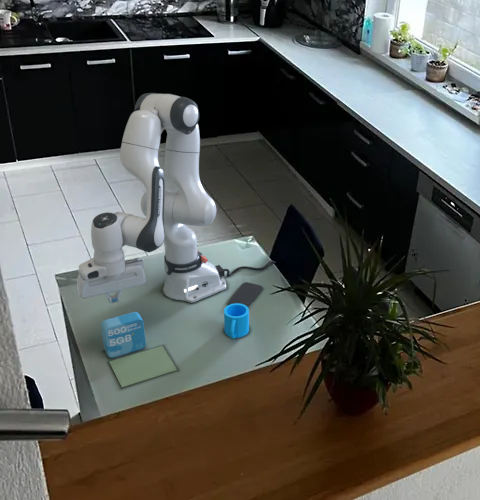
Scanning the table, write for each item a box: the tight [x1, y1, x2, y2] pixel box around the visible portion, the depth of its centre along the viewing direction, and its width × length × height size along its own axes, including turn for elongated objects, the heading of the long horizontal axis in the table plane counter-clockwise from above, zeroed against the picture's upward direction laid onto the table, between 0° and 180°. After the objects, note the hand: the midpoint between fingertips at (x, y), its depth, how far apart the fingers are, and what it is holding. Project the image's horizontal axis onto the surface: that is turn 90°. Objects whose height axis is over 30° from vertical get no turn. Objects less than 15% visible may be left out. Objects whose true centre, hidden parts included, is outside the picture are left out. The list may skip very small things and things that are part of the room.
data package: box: [100, 311, 147, 359], centre depth 218 cm, size 12×4×12 cm, turn 123°
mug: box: [223, 303, 250, 340], centre depth 230 cm, size 12×8×8 cm
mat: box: [108, 345, 178, 389], centre depth 215 cm, size 17×13×1 cm
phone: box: [227, 281, 263, 308], centre depth 250 cm, size 7×1×15 cm
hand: (114, 301), depth 219 cm, fingers closed
